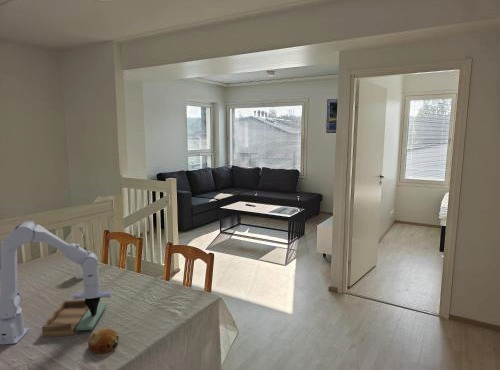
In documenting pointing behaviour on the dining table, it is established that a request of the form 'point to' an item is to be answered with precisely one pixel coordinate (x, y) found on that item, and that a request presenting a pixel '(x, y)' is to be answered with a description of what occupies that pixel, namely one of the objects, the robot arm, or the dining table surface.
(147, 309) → the dining table surface
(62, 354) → the dining table surface
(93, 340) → the bread roll
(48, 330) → the tray
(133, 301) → the dining table surface
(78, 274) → the white cup
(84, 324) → the panel
